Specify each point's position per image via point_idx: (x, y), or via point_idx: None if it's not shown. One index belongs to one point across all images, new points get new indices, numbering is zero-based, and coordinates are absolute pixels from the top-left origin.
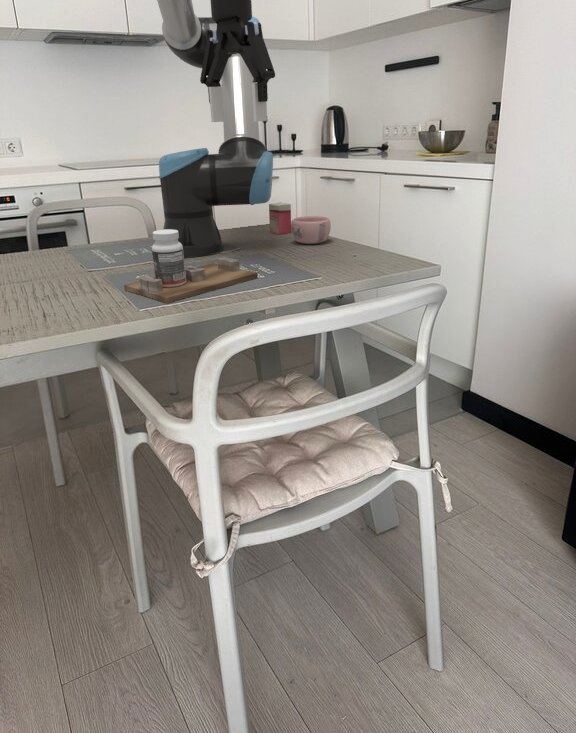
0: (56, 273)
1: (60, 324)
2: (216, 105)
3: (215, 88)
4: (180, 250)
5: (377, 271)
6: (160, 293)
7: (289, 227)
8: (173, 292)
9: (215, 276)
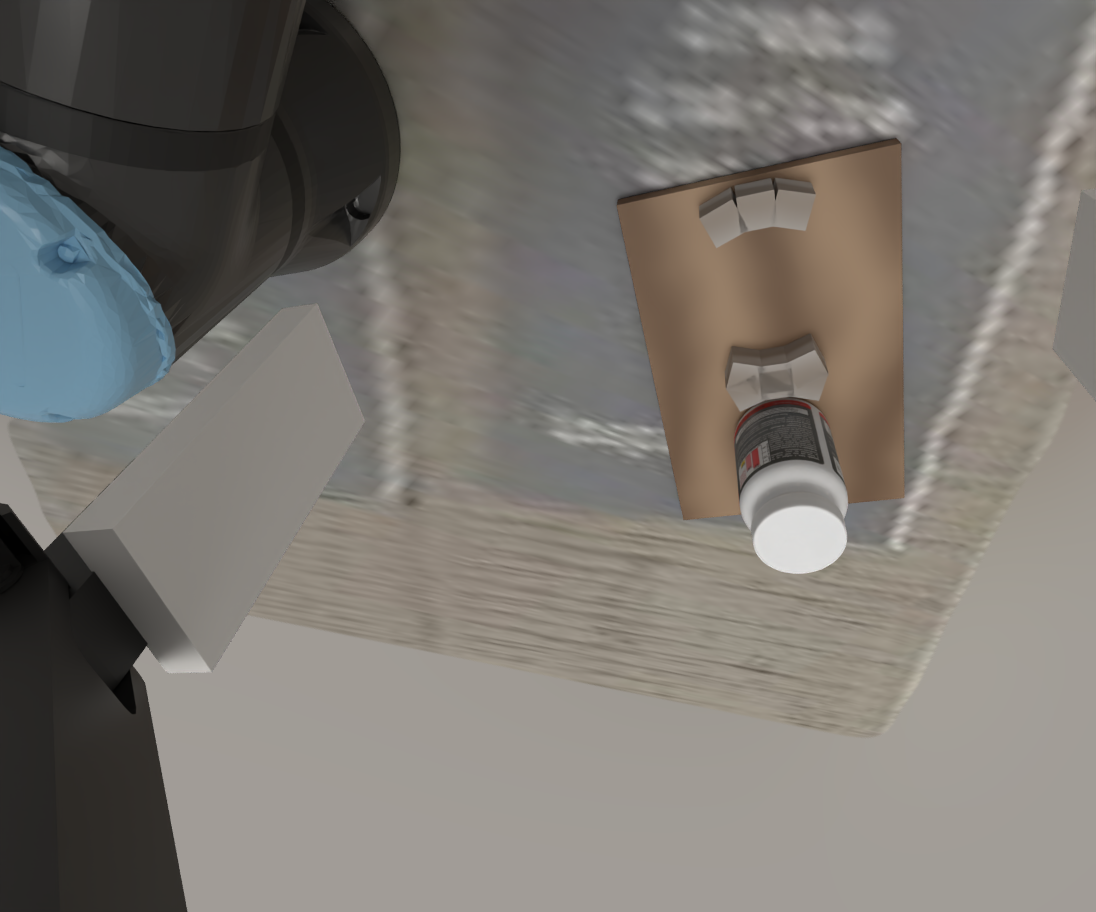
0: (382, 561)
1: (843, 670)
2: (287, 471)
3: (188, 603)
4: (842, 480)
5: None
6: (849, 491)
7: None
8: (872, 465)
9: (810, 295)
